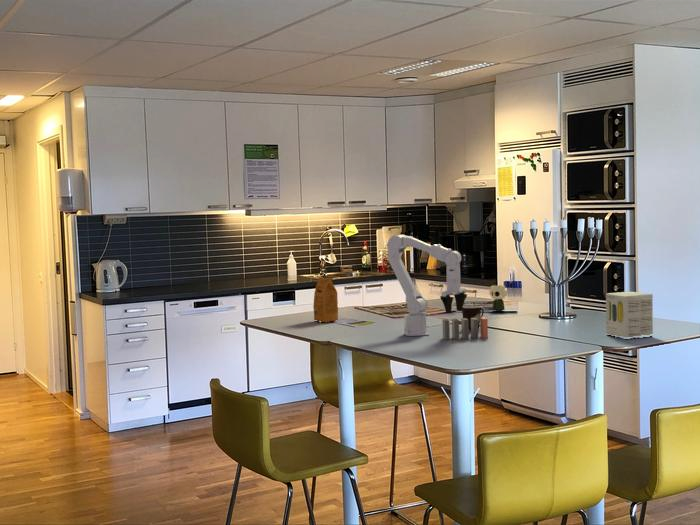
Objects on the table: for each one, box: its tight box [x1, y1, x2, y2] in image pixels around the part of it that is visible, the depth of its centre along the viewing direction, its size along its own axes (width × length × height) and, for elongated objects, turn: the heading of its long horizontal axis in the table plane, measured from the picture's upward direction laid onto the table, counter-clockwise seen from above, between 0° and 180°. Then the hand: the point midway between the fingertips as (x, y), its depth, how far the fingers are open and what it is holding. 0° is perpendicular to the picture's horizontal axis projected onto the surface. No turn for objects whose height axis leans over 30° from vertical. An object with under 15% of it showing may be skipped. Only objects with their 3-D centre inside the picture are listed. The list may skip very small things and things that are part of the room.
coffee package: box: [312, 275, 339, 323], centre depth 409 cm, size 10×12×22 cm
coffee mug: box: [461, 305, 485, 331], centre depth 371 cm, size 12×9×10 cm
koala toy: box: [489, 285, 508, 312], centre depth 427 cm, size 11×7×13 cm, turn 42°
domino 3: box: [470, 318, 479, 340], centre depth 348 cm, size 2×5×8 cm, turn 6°
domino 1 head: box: [442, 318, 451, 341], centre depth 347 cm, size 2×5×8 cm, turn 6°
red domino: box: [479, 316, 489, 339], centre depth 348 cm, size 2×5×8 cm, turn 6°
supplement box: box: [605, 291, 654, 337], centre depth 339 cm, size 13×13×18 cm
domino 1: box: [451, 318, 460, 341], centre depth 347 cm, size 2×5×8 cm, turn 6°
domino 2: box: [460, 317, 470, 340], centre depth 348 cm, size 2×5×8 cm, turn 6°
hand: (454, 311), depth 354 cm, fingers open, 7 cm apart
